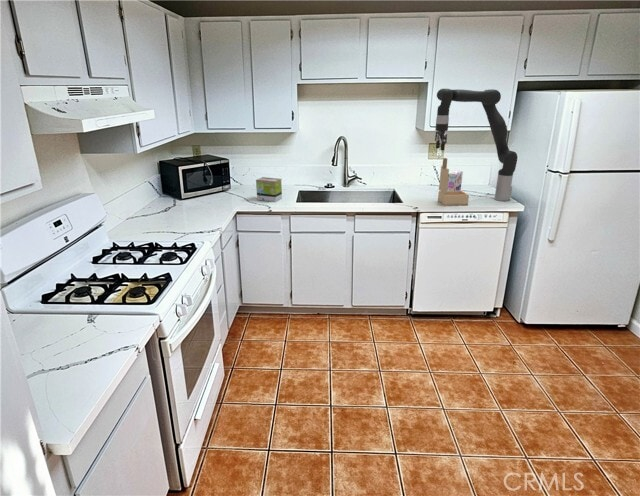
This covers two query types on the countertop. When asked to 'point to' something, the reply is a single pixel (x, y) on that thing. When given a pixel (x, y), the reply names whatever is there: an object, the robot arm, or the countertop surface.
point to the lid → (444, 177)
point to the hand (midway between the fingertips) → (439, 149)
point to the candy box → (454, 181)
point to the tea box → (269, 189)
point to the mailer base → (453, 198)
